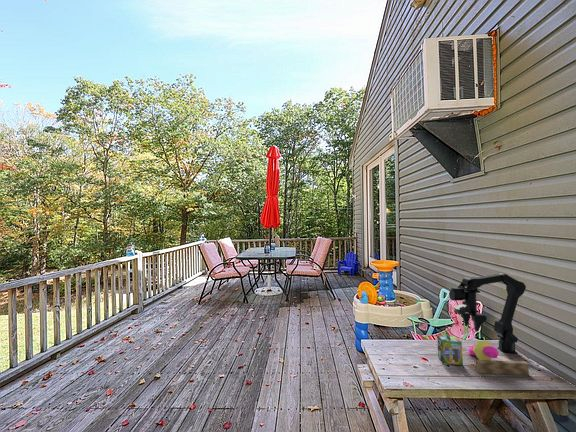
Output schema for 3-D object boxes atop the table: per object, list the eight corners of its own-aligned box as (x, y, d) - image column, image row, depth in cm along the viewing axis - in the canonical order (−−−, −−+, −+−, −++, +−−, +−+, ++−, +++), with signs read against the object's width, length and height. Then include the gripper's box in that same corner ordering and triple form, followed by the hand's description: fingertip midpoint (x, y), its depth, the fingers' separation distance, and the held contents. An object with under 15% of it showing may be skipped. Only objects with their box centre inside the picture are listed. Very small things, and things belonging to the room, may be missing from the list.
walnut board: (524, 372, 136) (524, 361, 136) (528, 374, 133) (528, 363, 133) (475, 370, 137) (475, 359, 138) (479, 373, 135) (478, 362, 135)
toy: (484, 353, 157) (473, 335, 160) (510, 358, 140) (497, 337, 143) (470, 362, 155) (459, 344, 158) (495, 368, 138) (482, 347, 141)
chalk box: (463, 365, 142) (462, 335, 143) (443, 364, 144) (442, 334, 145) (456, 357, 151) (455, 329, 152) (437, 356, 153) (436, 327, 154)
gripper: (447, 296, 170) (447, 323, 169) (465, 304, 151) (466, 334, 151) (466, 296, 170) (467, 323, 169) (487, 304, 151) (488, 335, 150)
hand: (471, 328), depth 160 cm, fingers open, 9 cm apart
